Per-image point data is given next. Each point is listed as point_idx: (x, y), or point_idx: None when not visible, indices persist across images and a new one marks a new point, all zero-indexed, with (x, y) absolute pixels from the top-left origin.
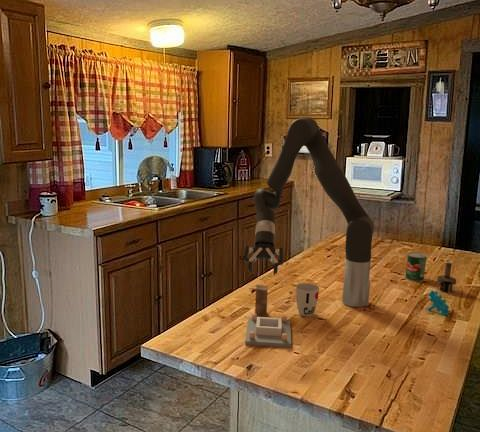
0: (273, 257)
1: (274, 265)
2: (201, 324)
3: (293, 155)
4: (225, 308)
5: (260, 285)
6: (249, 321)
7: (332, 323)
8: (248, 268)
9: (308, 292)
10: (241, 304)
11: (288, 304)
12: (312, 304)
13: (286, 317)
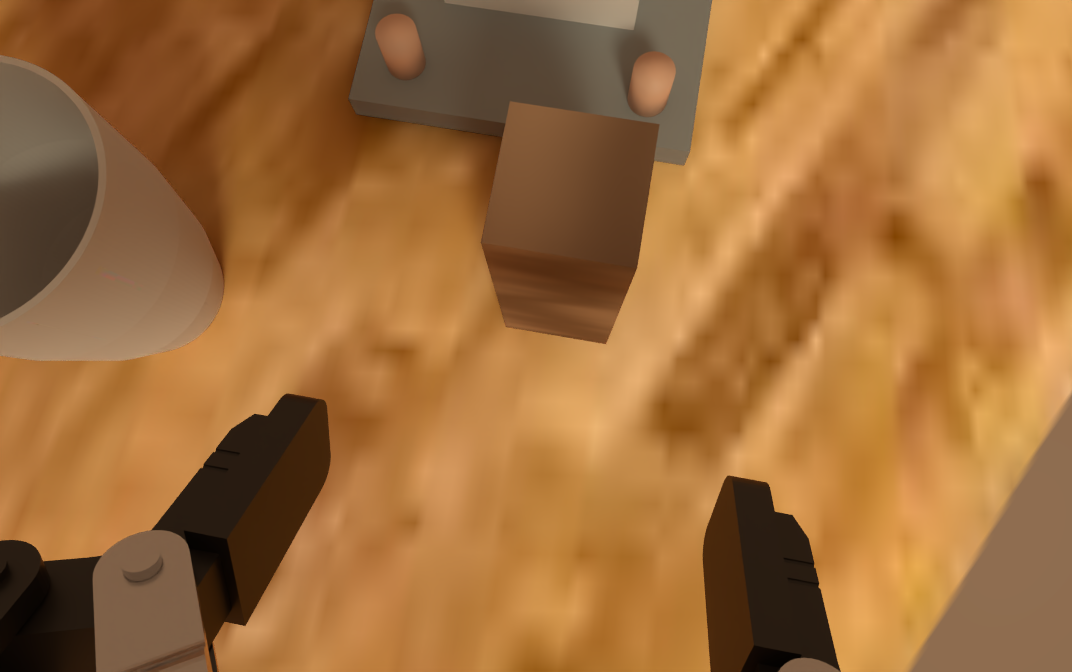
0: (147, 667)
1: (239, 497)
2: (1068, 107)
3: None
4: (882, 430)
5: (581, 256)
6: (689, 74)
7: None
8: (805, 545)
9: (13, 66)
10: None
11: None
12: (61, 159)
13: (380, 27)
